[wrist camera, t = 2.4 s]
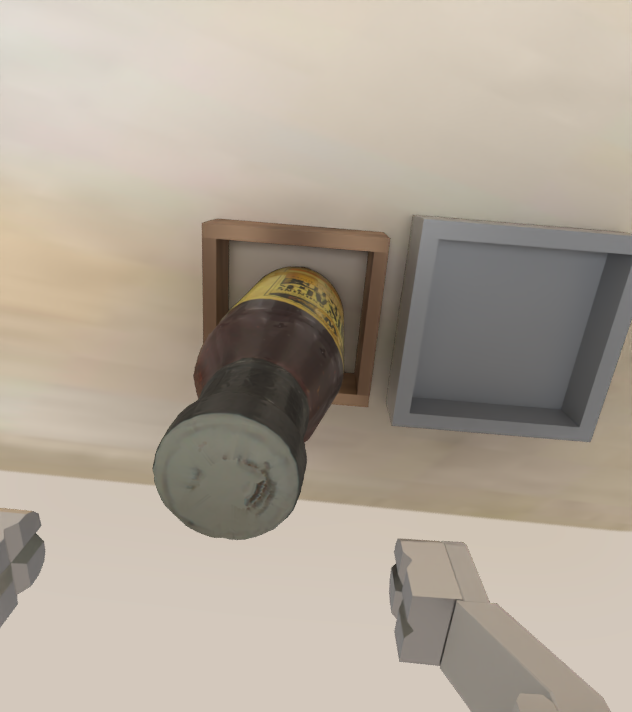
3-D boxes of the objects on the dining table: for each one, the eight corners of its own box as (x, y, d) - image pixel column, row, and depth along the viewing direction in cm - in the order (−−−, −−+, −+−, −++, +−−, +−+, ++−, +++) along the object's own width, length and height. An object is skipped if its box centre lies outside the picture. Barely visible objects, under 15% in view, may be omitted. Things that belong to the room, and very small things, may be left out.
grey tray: (621, 231, 28) (659, 238, 25) (564, 416, 33) (590, 442, 30) (413, 214, 28) (423, 218, 25) (385, 401, 33) (391, 425, 30)
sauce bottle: (360, 320, 31) (405, 527, 12) (286, 367, 32) (224, 618, 14) (305, 238, 29) (259, 335, 10) (228, 292, 30) (67, 462, 12)
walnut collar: (383, 232, 29) (390, 238, 25) (364, 384, 32) (368, 407, 29) (216, 218, 29) (201, 222, 25) (216, 372, 32) (203, 393, 29)
